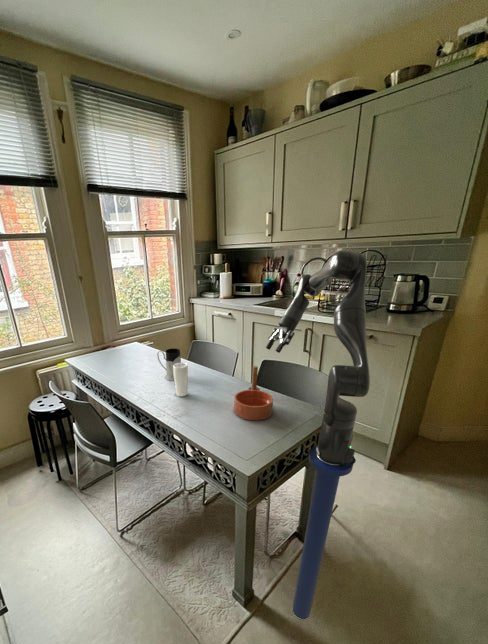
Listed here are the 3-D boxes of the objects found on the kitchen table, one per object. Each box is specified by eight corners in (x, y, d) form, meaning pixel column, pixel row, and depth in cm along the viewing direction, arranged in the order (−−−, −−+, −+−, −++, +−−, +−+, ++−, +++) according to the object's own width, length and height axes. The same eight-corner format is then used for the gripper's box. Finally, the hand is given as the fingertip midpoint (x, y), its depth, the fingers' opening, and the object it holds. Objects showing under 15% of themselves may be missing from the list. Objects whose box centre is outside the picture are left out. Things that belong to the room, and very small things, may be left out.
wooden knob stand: (261, 394, 148) (263, 366, 142) (256, 398, 144) (257, 370, 138) (251, 391, 151) (252, 364, 145) (245, 395, 147) (247, 367, 141)
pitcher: (176, 381, 164) (175, 354, 157) (154, 377, 170) (152, 350, 164) (185, 375, 170) (184, 349, 164) (163, 371, 177) (161, 345, 171)
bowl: (277, 409, 134) (279, 395, 132) (261, 425, 124) (262, 411, 121) (245, 399, 143) (246, 386, 141) (227, 413, 133) (227, 400, 130)
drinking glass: (175, 391, 154) (174, 362, 147) (189, 391, 153) (188, 362, 146) (173, 397, 148) (171, 367, 141) (187, 398, 147) (186, 368, 140)
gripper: (306, 324, 136) (286, 357, 137) (288, 321, 149) (270, 351, 151) (294, 315, 133) (274, 348, 135) (276, 313, 146) (258, 344, 148)
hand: (272, 350), depth 143 cm, fingers open, 8 cm apart
